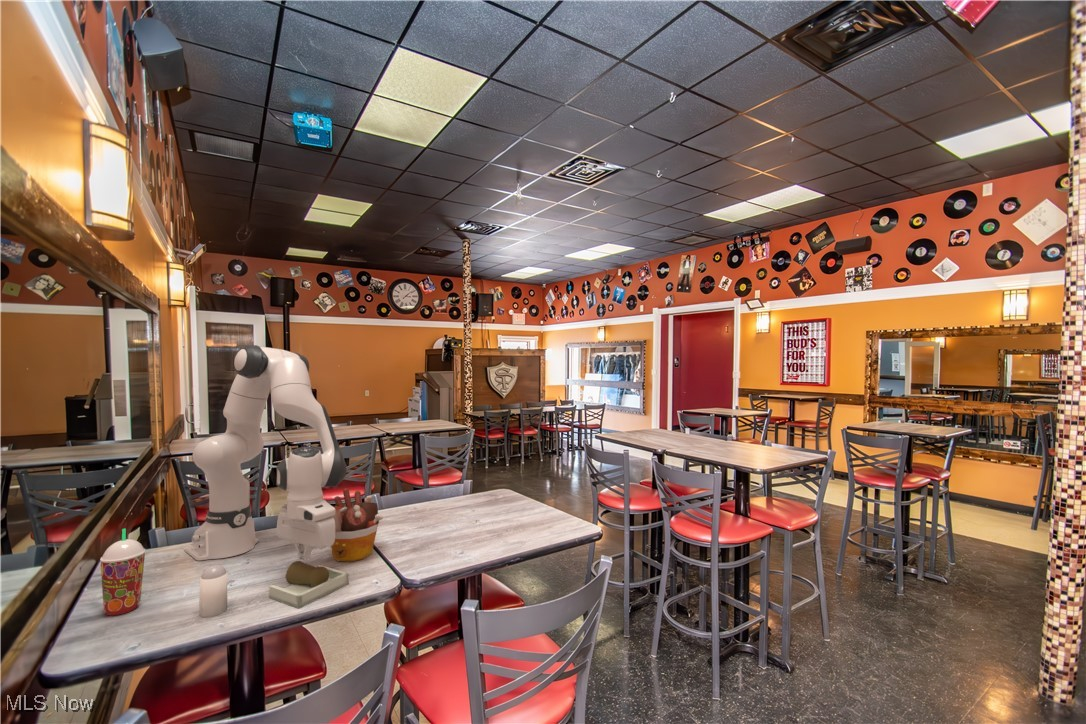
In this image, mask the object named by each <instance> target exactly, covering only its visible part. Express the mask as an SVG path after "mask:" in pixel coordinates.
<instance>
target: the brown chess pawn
mask: <svg viewBox="0 0 1086 724" xmlns="http://www.w3.org/2000/svg"><path fill="white" fill-rule="evenodd" d="M325 567H326V566H325ZM325 567H317V566H314V565H311V564H309V563H306V562H303V561H300V560H296V561H293V562H292V563H291V564H290V565H289V566H288V568H287V570H286V572H285V581H286V582H287V584H290V585H293V584H310V585H311V586H313V587H316V586H318V585H320V584H322V583H324V582H327V581H328V578H329V571H328V569H327V568H325Z"/></svg>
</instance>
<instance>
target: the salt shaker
mask: <svg viewBox="0 0 1086 724" xmlns="http://www.w3.org/2000/svg"><path fill="white" fill-rule="evenodd" d="M228 573H229V572H228V570H226V568H225V566H223V565H221V564H220V565H219V564H213V565H211V566H209V567H207V568H206V569H204V571H203V572H202V574H201V575H200V577H199V605H198V606H199V607H198V608H199V609H198V610H199V611H198V612H199V613H198V616H199V618H204V619H205V618H207V619H208V618H211V617H213V618H214V617H216V616H219V615H221V614H223V613H224V612H226V611H227V610H228V585H229V583H228V582H229V581H228V580H229V579H228Z"/></svg>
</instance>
